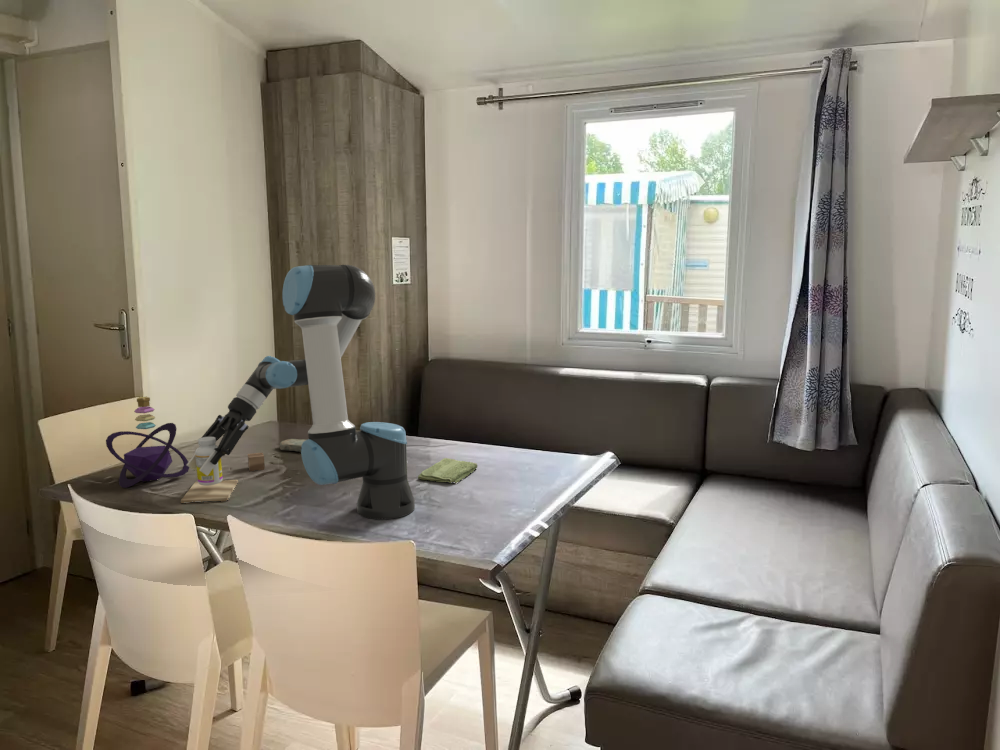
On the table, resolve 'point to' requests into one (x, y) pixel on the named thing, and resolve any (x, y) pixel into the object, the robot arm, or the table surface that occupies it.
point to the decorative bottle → (147, 450)
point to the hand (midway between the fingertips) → (196, 470)
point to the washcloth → (448, 471)
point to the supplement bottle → (201, 456)
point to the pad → (210, 491)
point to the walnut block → (256, 461)
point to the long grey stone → (292, 445)
